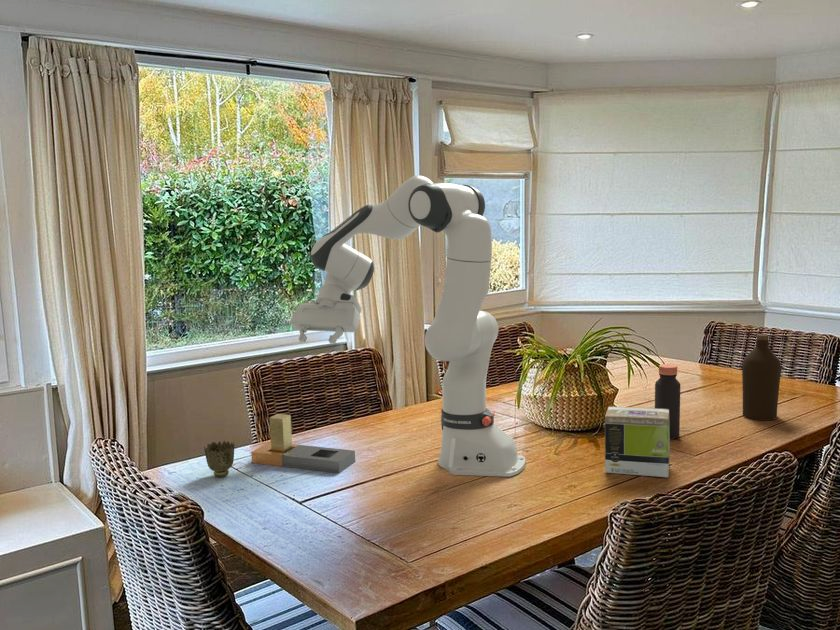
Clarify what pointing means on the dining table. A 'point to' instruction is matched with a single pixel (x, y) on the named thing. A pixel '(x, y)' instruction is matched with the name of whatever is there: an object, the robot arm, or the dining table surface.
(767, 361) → the olive oil
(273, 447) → the yellow rectangular block
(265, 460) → the rail
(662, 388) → the bottle
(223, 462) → the cup
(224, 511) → the dining table surface
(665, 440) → the tea box
